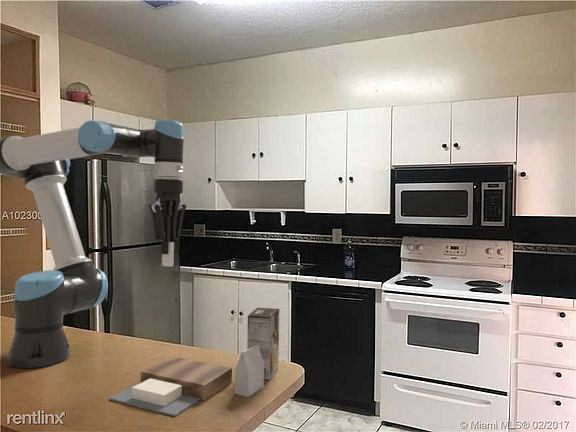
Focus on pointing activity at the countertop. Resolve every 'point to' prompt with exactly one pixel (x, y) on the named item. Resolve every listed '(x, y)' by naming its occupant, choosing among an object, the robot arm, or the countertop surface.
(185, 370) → the brown flat block
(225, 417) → the countertop surface
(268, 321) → the coffee box
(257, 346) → the tea bag
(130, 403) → the mat
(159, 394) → the tile
